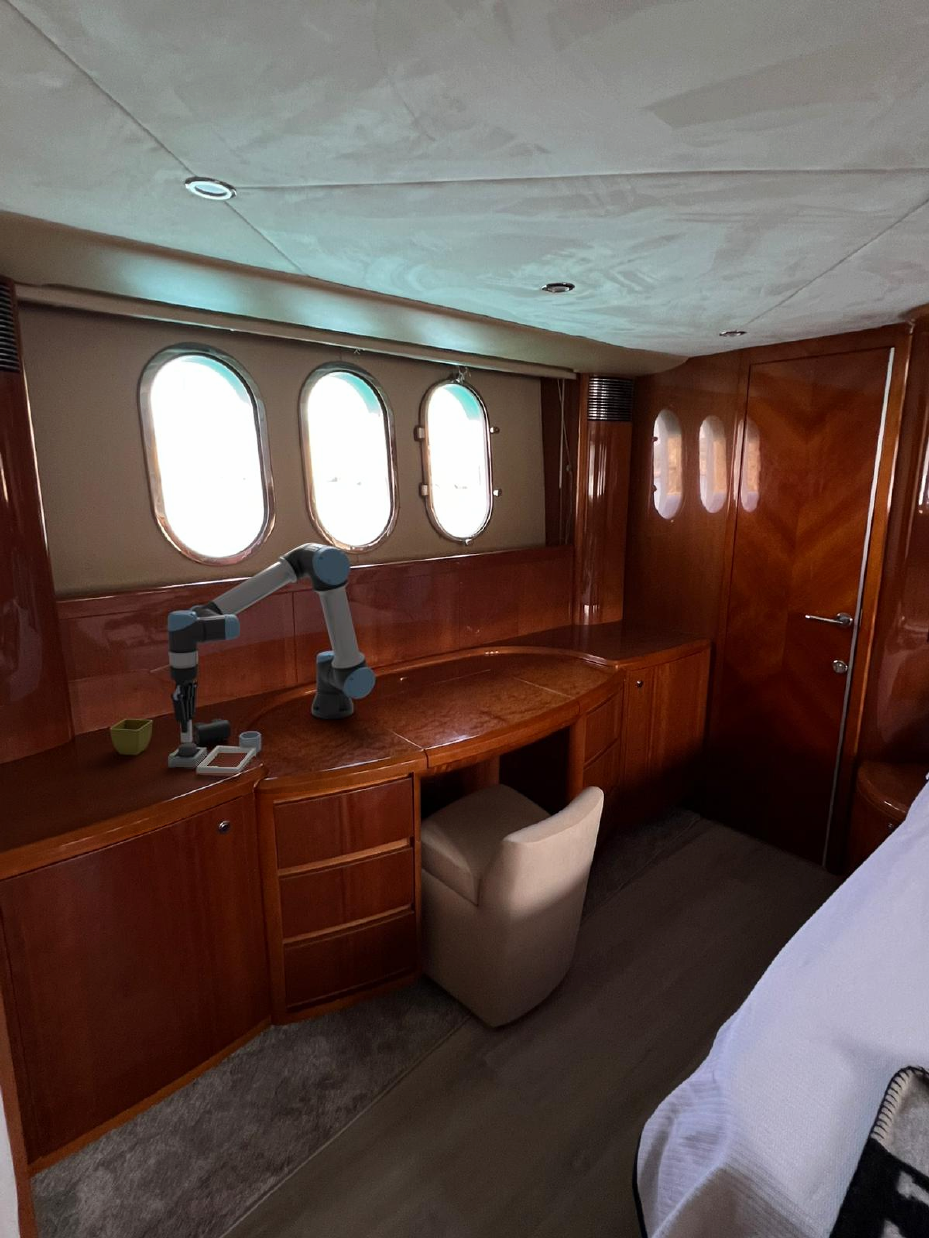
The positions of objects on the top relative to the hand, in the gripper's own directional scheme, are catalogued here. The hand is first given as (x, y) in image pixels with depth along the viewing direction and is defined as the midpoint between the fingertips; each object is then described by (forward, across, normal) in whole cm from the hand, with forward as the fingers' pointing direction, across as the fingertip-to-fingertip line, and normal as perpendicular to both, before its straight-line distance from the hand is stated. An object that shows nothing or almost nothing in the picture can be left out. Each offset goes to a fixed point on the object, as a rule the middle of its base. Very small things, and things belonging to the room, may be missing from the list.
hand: (186, 741), depth 187 cm
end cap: (+7, -15, +1) cm, 17 cm away
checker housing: (+7, 0, 0) cm, 7 cm away
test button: (+4, 0, 0) cm, 4 cm away
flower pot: (+7, -5, -19) cm, 21 cm away
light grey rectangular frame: (+7, 0, +12) cm, 14 cm away
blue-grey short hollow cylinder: (+7, -11, +15) cm, 20 cm away
